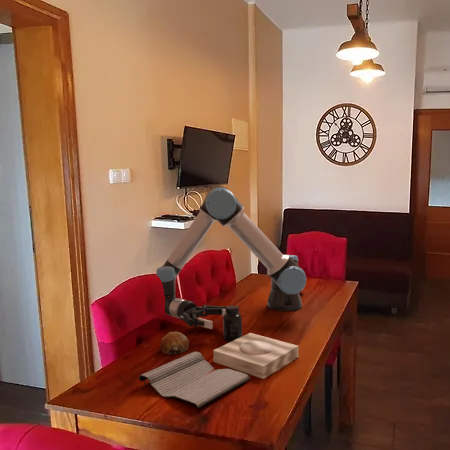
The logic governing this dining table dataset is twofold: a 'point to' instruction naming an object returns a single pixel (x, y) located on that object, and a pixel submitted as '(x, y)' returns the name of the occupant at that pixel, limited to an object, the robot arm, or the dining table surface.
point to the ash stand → (256, 355)
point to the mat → (193, 379)
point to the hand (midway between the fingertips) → (224, 320)
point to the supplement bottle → (232, 323)
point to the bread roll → (174, 343)
